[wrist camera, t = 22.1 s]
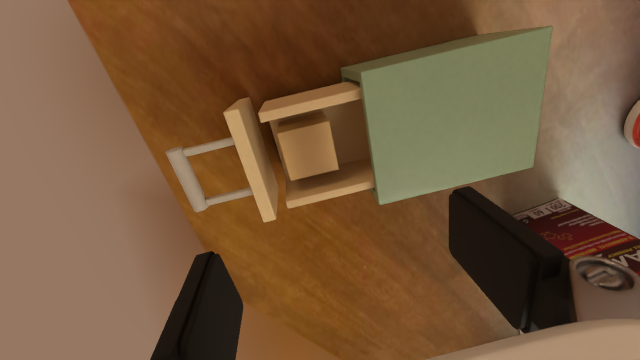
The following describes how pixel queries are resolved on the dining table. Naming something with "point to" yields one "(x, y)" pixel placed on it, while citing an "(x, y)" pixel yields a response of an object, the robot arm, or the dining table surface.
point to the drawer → (348, 139)
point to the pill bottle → (633, 126)
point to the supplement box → (582, 233)
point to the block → (307, 145)
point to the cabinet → (453, 111)
